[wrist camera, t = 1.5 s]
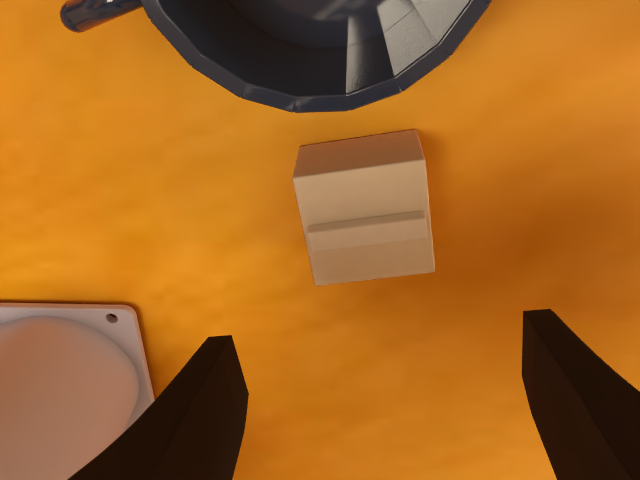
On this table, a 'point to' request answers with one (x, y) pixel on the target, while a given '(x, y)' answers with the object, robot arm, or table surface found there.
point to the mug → (301, 44)
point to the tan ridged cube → (365, 208)
